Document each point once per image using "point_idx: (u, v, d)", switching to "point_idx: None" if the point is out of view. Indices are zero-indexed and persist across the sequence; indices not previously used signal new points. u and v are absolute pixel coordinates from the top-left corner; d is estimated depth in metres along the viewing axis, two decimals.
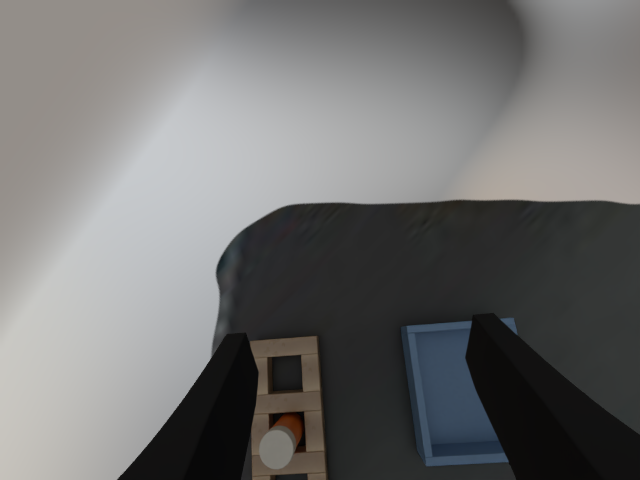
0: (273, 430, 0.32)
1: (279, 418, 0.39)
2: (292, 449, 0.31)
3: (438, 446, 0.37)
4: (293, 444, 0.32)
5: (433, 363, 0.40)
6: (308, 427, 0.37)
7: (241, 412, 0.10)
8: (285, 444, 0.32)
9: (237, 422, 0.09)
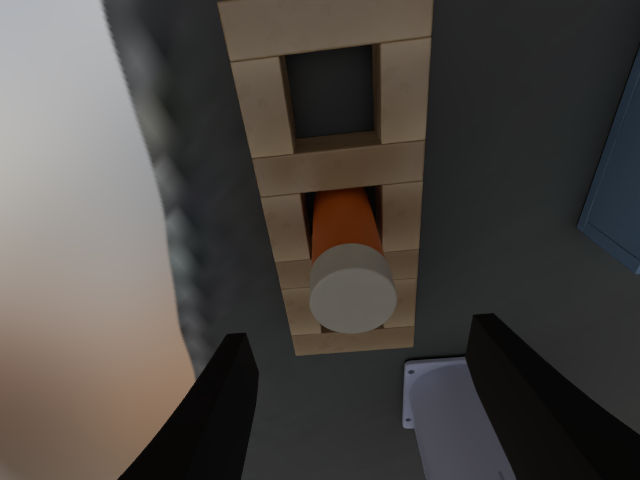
0: (344, 269, 0.12)
1: (319, 193, 0.18)
2: (394, 301, 0.13)
3: None
4: None
5: None
6: (389, 214, 0.17)
7: (241, 412, 0.10)
8: (377, 294, 0.12)
9: (237, 422, 0.09)
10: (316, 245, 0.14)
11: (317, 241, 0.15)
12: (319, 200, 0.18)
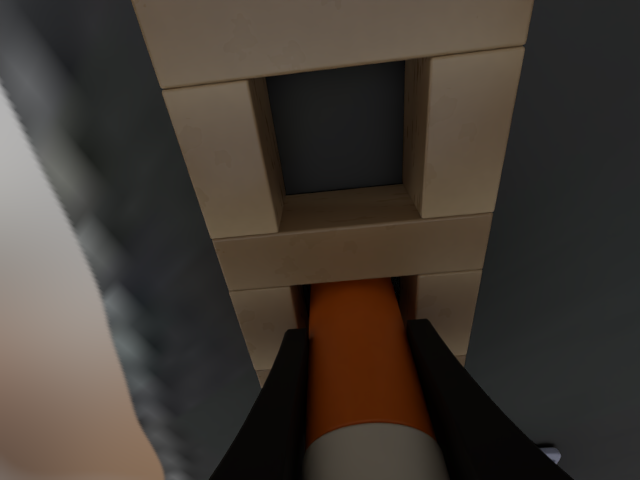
0: None
1: None
2: None
3: None
4: None
5: None
6: (426, 313, 0.11)
7: None
8: None
9: None
10: (313, 397, 0.09)
11: (315, 388, 0.09)
12: (319, 287, 0.12)
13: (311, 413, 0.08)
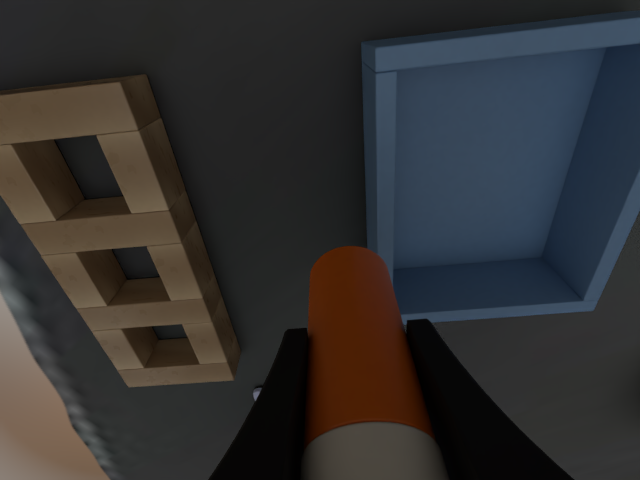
0: None
1: (318, 272, 0.12)
2: None
3: (404, 277, 0.21)
4: None
5: (427, 136, 0.17)
6: (162, 270, 0.19)
7: None
8: None
9: None
10: (312, 396, 0.09)
11: (314, 387, 0.09)
12: (318, 286, 0.12)
13: (310, 412, 0.08)
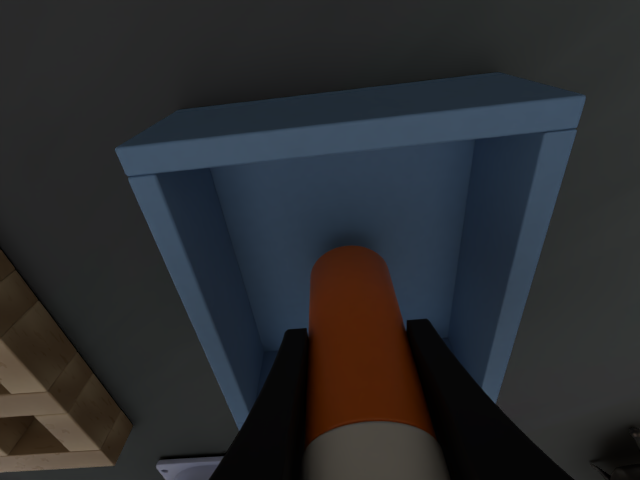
0: None
1: (318, 272, 0.12)
2: None
3: None
4: None
5: (280, 215, 0.14)
6: None
7: None
8: None
9: None
10: (313, 396, 0.09)
11: (315, 387, 0.09)
12: (318, 286, 0.12)
13: (311, 412, 0.08)
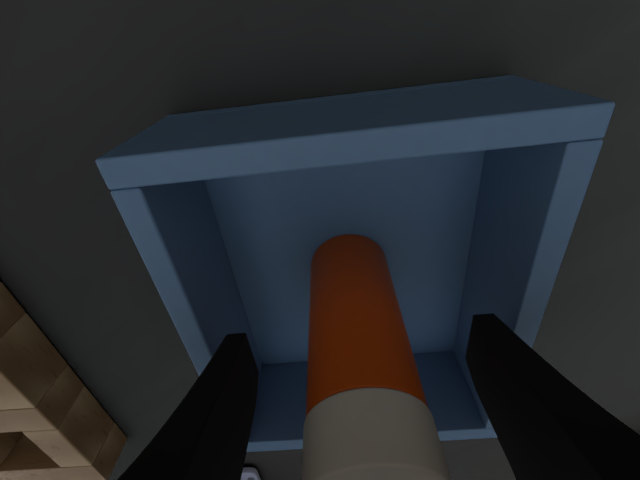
0: (363, 464, 0.06)
1: (319, 259, 0.13)
2: None
3: (284, 377, 0.17)
4: None
5: (278, 225, 0.13)
6: None
7: (241, 412, 0.10)
8: None
9: (237, 422, 0.09)
10: (313, 369, 0.09)
11: (315, 361, 0.09)
12: (318, 272, 0.12)
13: (311, 383, 0.09)
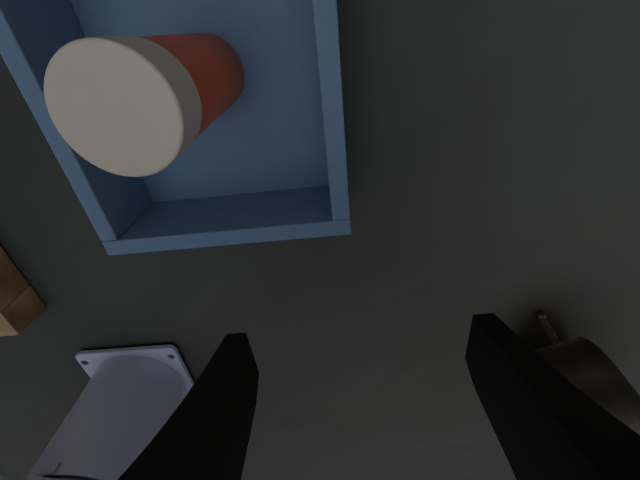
0: (77, 42, 0.08)
1: None
2: (177, 112, 0.08)
3: (169, 207, 0.18)
4: (179, 95, 0.08)
5: (134, 21, 0.14)
6: None
7: (241, 412, 0.10)
8: (144, 95, 0.08)
9: (237, 422, 0.09)
10: None
11: None
12: None
13: None
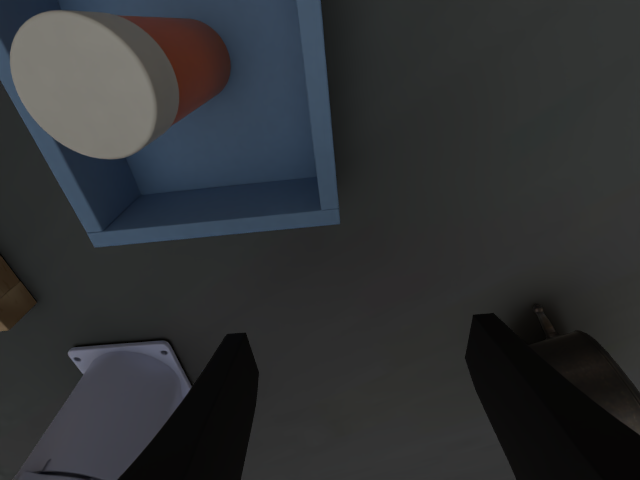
0: (42, 15, 0.07)
1: None
2: (149, 89, 0.08)
3: (157, 199, 0.18)
4: (151, 72, 0.08)
5: (117, 7, 0.14)
6: None
7: (241, 412, 0.10)
8: (114, 72, 0.08)
9: (237, 422, 0.09)
10: None
11: None
12: None
13: None
